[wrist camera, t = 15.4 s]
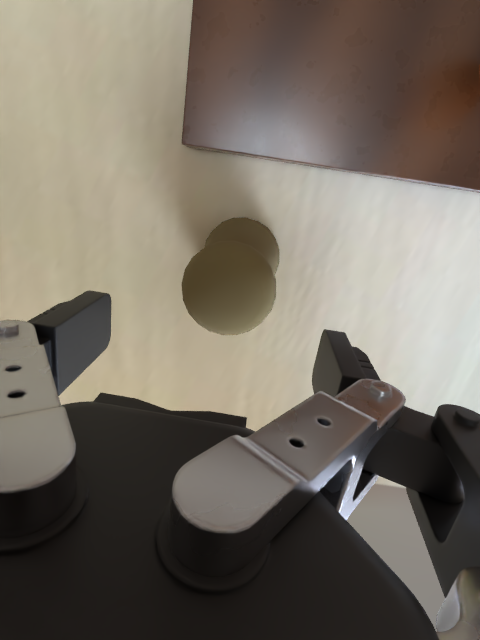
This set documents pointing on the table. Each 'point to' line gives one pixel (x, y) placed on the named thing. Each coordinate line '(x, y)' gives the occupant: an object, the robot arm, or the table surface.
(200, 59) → the cutting board
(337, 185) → the table surface
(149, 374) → the table surface
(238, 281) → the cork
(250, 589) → the robot arm
